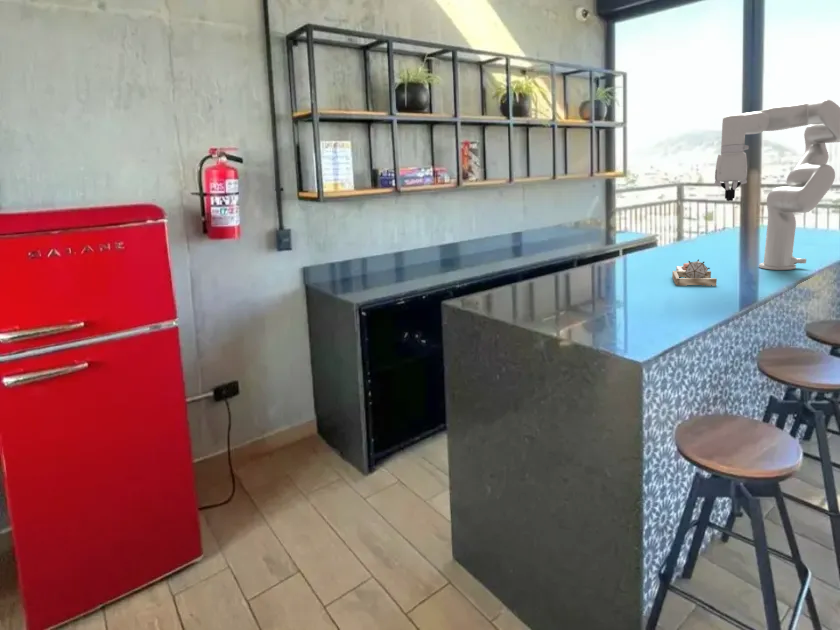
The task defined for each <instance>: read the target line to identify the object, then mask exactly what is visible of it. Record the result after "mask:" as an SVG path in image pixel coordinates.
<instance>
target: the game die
mask: <svg viewBox="0 0 840 630" xmlns="http://www.w3.org/2000/svg"><path fill="white" fill-rule="evenodd" d="M688 263H689V265H688V267H685V268H687V269H686V271H685V273H683V275H684V274H685V275H686V276H687V277H688V278H704V277H705V276H708V275H707V274H706V273H707V271H709V270H710V269H711V267H707V266H706V264H704V263H705V261H702V262H701V261H700V259H697V261H690V260H688Z"/></svg>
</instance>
